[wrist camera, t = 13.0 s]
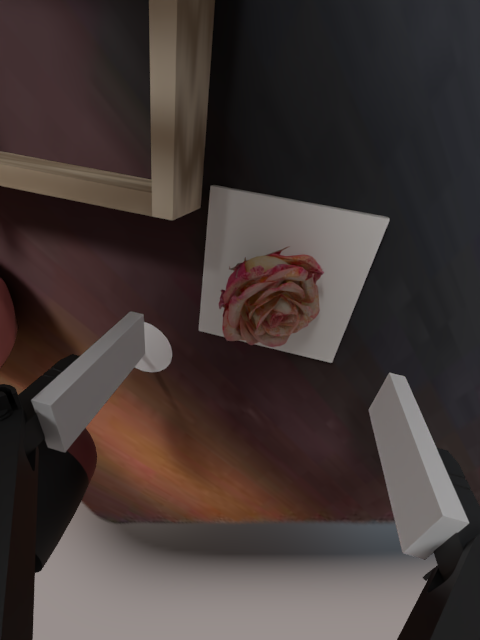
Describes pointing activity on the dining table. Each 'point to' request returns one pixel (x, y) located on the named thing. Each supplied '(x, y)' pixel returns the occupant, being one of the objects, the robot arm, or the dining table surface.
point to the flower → (270, 298)
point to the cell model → (6, 323)
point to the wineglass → (78, 464)
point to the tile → (303, 238)
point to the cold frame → (166, 127)
